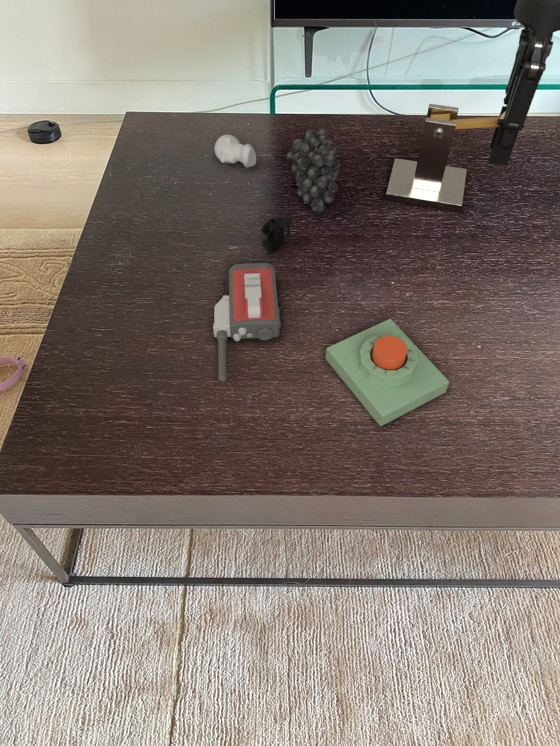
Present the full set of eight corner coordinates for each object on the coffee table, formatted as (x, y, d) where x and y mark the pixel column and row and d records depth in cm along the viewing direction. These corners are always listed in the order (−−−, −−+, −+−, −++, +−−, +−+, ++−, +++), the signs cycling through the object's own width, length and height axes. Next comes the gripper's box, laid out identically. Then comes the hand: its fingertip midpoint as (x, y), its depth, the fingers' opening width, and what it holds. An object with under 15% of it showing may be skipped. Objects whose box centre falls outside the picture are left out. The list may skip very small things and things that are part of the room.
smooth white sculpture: (211, 162, 108) (231, 143, 109) (242, 181, 104) (263, 161, 105) (203, 144, 104) (224, 124, 105) (235, 163, 100) (256, 142, 101)
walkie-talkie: (214, 275, 89) (214, 387, 77) (211, 252, 86) (211, 366, 73) (275, 272, 89) (285, 384, 77) (275, 249, 86) (285, 362, 74)
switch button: (411, 362, 75) (414, 352, 74) (384, 375, 74) (386, 366, 72) (391, 340, 77) (393, 330, 76) (365, 352, 76) (367, 343, 74)
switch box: (445, 392, 77) (453, 372, 74) (380, 426, 74) (384, 408, 70) (387, 329, 83) (392, 308, 80) (325, 358, 80) (327, 338, 77)
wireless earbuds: (266, 263, 91) (265, 236, 87) (252, 256, 92) (251, 229, 88) (293, 237, 94) (294, 210, 90) (279, 231, 95) (280, 204, 91)
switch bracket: (465, 175, 104) (485, 102, 94) (460, 211, 98) (481, 138, 88) (393, 164, 106) (406, 91, 96) (385, 199, 100) (397, 126, 90)
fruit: (334, 173, 89) (331, 114, 98) (279, 187, 91) (281, 128, 100) (348, 218, 95) (344, 159, 104) (297, 231, 98) (297, 172, 107)
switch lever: (521, 124, 92) (523, 104, 89) (521, 136, 90) (523, 115, 87) (431, 130, 96) (431, 110, 93) (429, 141, 94) (428, 121, 91)
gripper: (523, -43, 81) (476, 123, 100) (521, 10, 72) (469, 183, 90) (583, -36, 80) (524, 130, 99) (588, 18, 70) (522, 191, 89)
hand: (498, 155), depth 94 cm, fingers closed on switch lever, 3 cm apart
